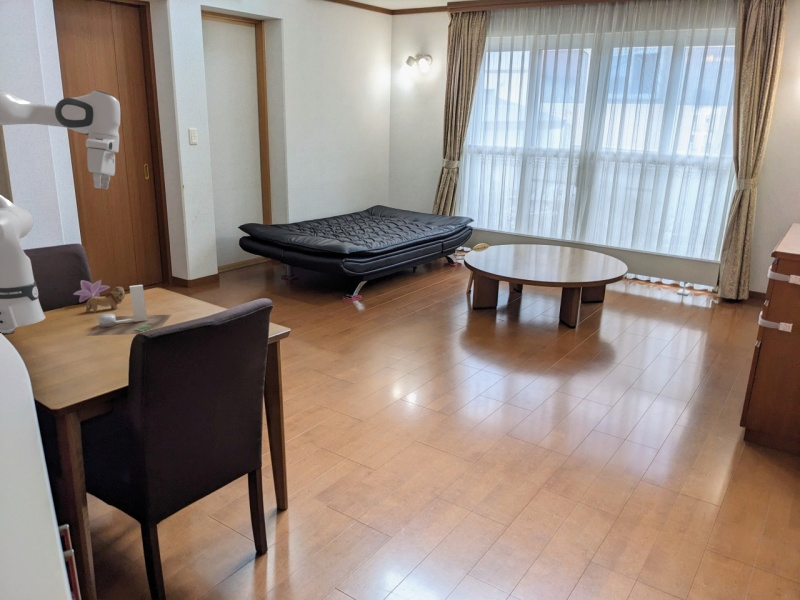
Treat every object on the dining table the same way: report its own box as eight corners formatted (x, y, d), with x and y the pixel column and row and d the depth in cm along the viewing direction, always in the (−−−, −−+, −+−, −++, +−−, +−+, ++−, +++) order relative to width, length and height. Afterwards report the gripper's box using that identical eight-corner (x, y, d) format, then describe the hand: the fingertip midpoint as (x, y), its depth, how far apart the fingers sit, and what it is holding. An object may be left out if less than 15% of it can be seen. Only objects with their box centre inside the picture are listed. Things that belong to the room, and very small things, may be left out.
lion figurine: (125, 308, 220) (121, 284, 218) (129, 311, 216) (126, 287, 214) (81, 316, 211) (77, 291, 209) (85, 319, 207) (81, 294, 205)
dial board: (87, 339, 188) (86, 334, 187) (109, 320, 206) (108, 316, 205) (156, 337, 190) (156, 332, 189) (172, 318, 208) (171, 313, 207)
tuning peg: (99, 328, 193) (93, 292, 190) (99, 323, 198) (94, 288, 194) (147, 321, 199) (143, 286, 196) (146, 317, 204) (142, 283, 200)
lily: (117, 301, 232) (108, 279, 232) (107, 298, 220) (97, 274, 221) (86, 313, 230) (77, 290, 230) (74, 310, 218) (65, 286, 219)
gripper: (100, 146, 200) (98, 188, 202) (84, 140, 180) (81, 186, 182) (121, 149, 201) (118, 190, 203) (106, 143, 182) (104, 189, 184)
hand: (101, 188), depth 192 cm, fingers open, 8 cm apart
